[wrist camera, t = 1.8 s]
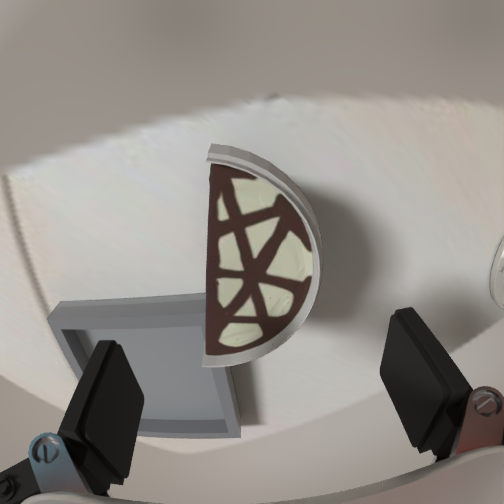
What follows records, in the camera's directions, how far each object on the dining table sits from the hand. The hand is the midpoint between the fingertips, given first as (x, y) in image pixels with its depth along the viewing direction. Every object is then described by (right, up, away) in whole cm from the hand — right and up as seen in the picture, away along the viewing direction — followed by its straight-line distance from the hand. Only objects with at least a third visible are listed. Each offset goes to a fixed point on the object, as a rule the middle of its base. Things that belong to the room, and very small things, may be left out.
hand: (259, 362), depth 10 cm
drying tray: (-10, -9, +20) cm, 24 cm away
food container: (0, +6, +14) cm, 15 cm away
